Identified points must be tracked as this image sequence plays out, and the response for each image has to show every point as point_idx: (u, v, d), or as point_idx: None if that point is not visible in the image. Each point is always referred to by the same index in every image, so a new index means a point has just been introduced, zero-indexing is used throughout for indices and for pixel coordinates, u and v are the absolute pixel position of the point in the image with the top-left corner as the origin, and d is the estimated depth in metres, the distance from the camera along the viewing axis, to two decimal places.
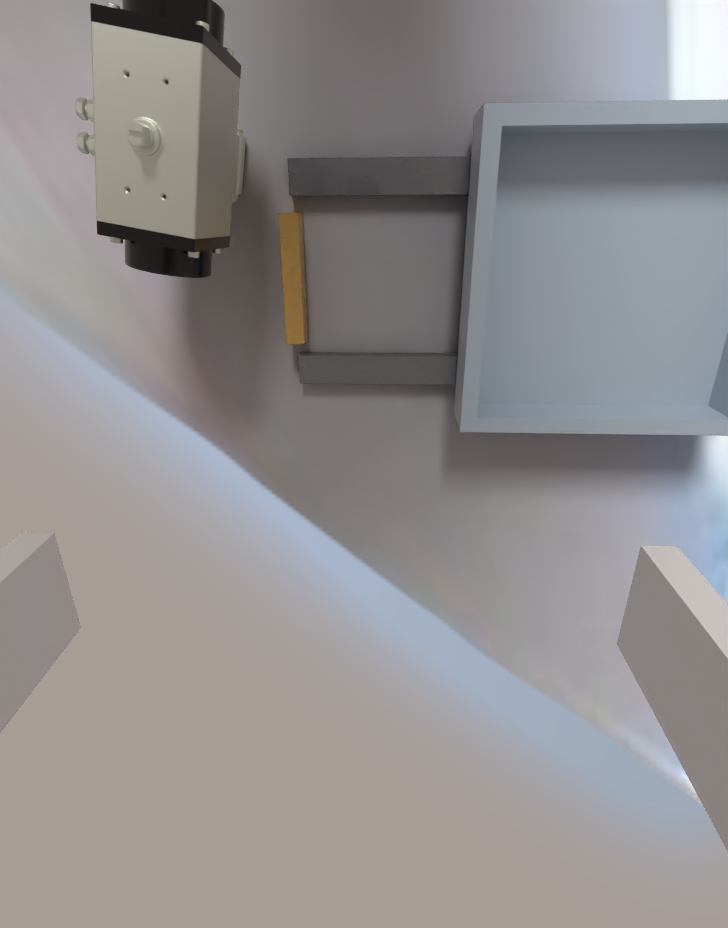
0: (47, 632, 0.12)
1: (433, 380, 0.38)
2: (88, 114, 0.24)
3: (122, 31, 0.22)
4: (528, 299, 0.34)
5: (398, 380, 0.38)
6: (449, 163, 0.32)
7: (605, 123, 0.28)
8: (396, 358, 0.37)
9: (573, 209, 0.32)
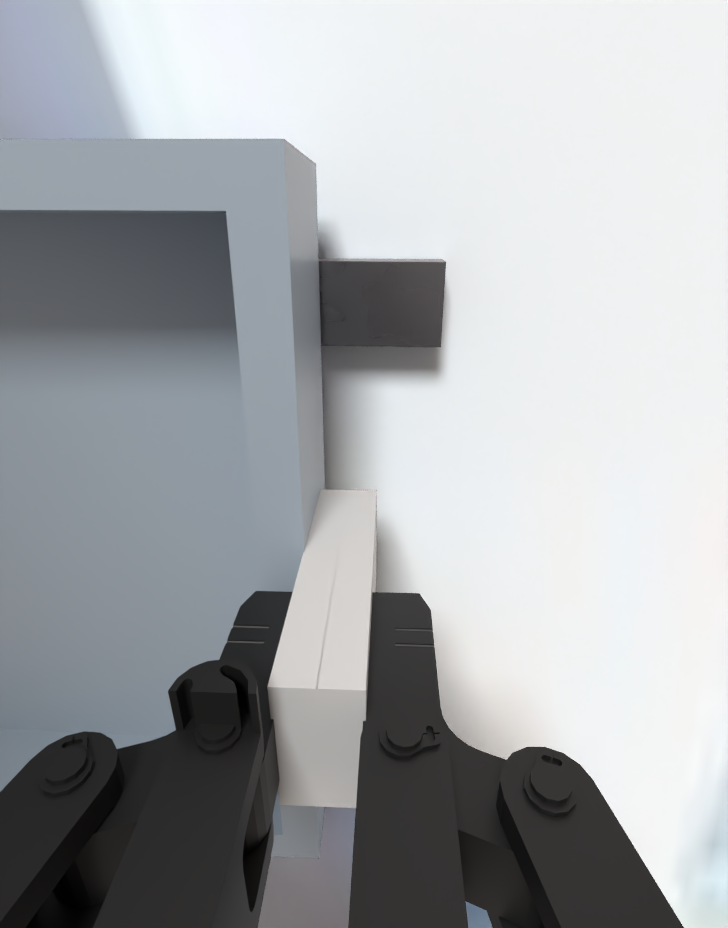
0: None
1: None
2: None
3: None
4: None
5: None
6: None
7: None
8: None
9: None
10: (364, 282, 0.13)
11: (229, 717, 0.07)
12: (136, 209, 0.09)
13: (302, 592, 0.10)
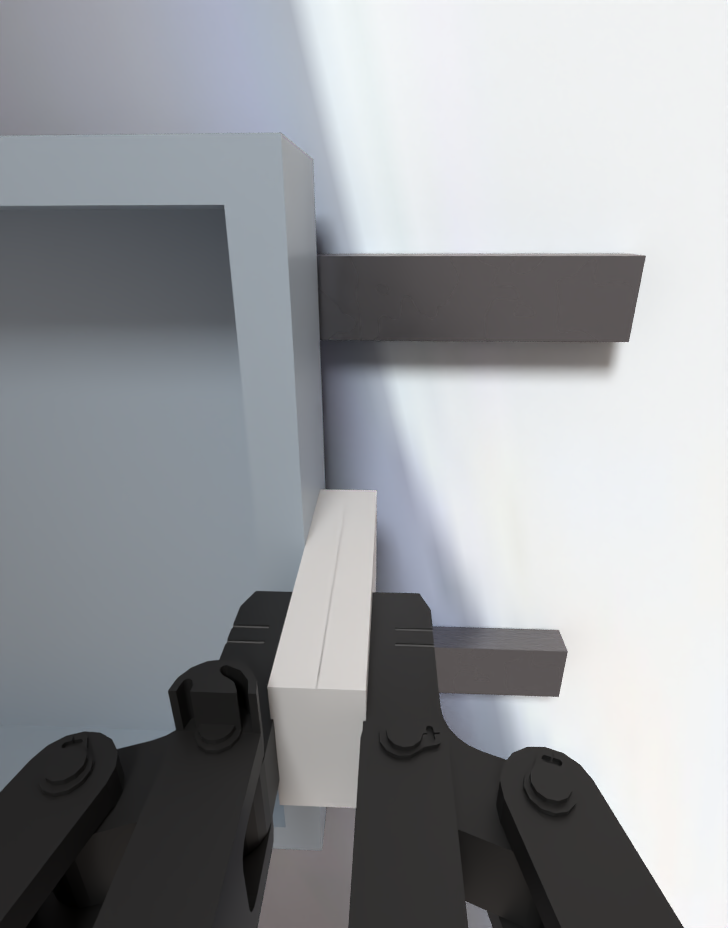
0: None
1: None
2: None
3: None
4: None
5: None
6: None
7: None
8: None
9: None
10: (559, 276, 0.13)
11: (229, 717, 0.07)
12: (135, 204, 0.09)
13: (302, 592, 0.10)
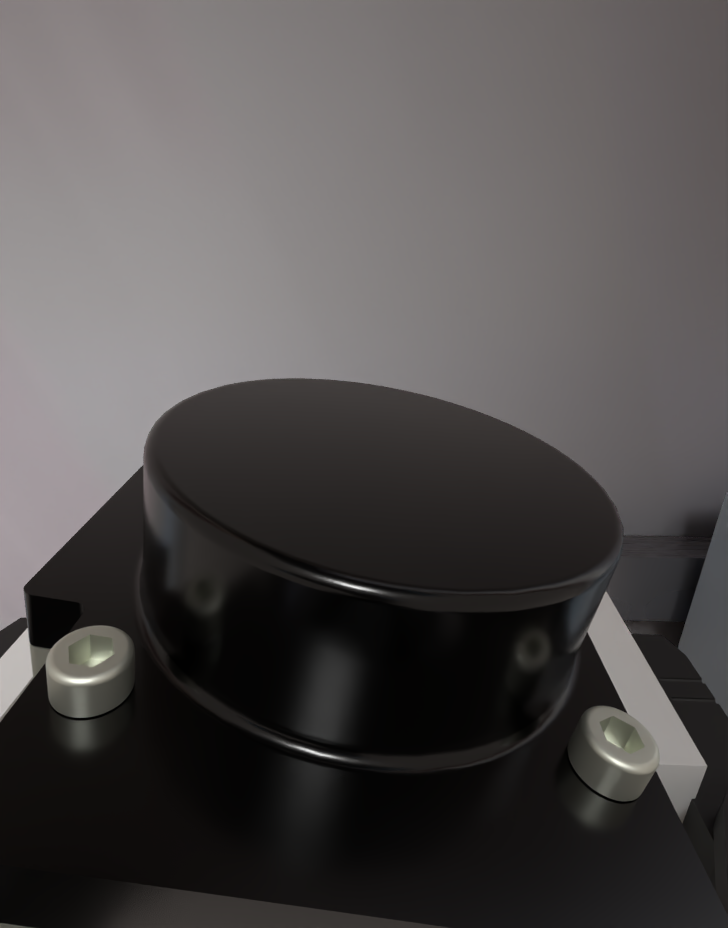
0: None
1: None
2: None
3: None
4: None
5: None
6: None
7: None
8: None
9: None
10: None
11: None
12: None
13: None
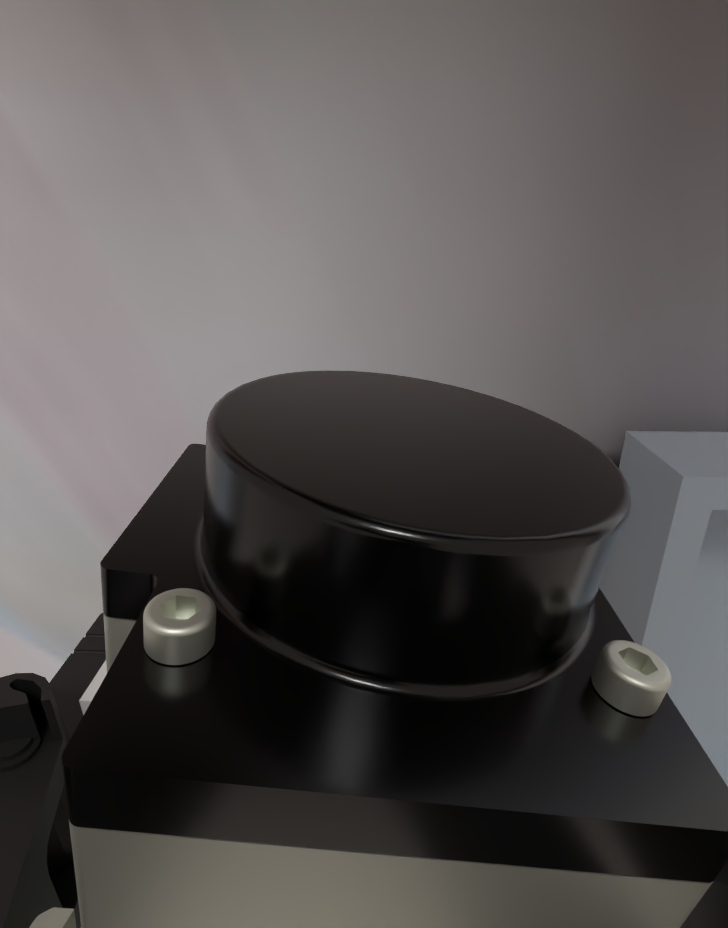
0: None
1: None
2: None
3: (261, 854, 0.04)
4: (693, 680, 0.21)
5: None
6: None
7: None
8: None
9: None
10: None
11: (24, 730, 0.07)
12: None
13: None
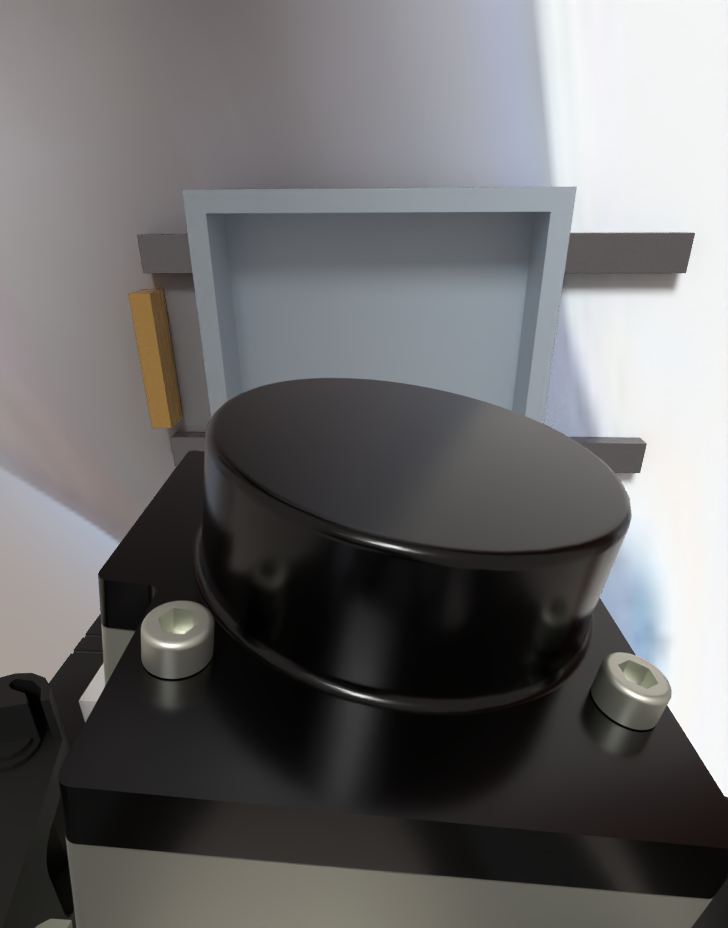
0: None
1: None
2: None
3: (260, 871, 0.04)
4: None
5: None
6: None
7: (316, 211, 0.25)
8: None
9: (324, 292, 0.29)
10: (656, 242, 0.29)
11: (24, 730, 0.07)
12: (518, 211, 0.25)
13: None
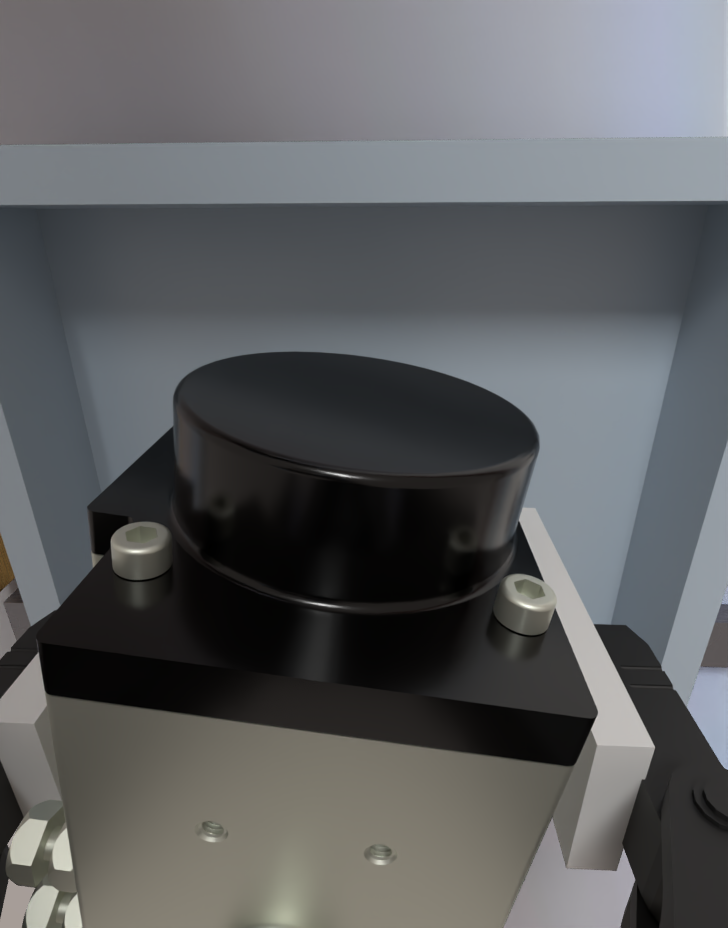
0: None
1: None
2: (59, 887, 0.06)
3: (196, 725, 0.05)
4: None
5: None
6: None
7: (210, 201, 0.10)
8: None
9: None
10: None
11: None
12: (714, 199, 0.10)
13: None
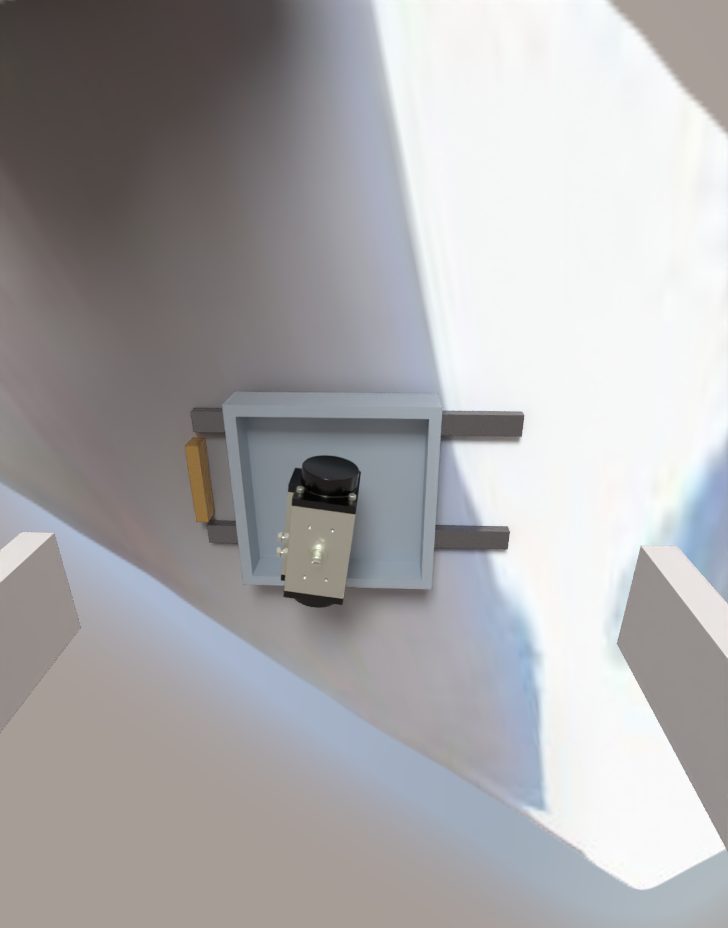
0: (47, 632, 0.12)
1: None
2: (284, 542, 0.40)
3: (309, 509, 0.39)
4: (286, 497, 0.51)
5: None
6: None
7: (298, 416, 0.44)
8: None
9: (304, 447, 0.49)
10: (502, 420, 0.48)
11: None
12: (411, 418, 0.44)
13: None
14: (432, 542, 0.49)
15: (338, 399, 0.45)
